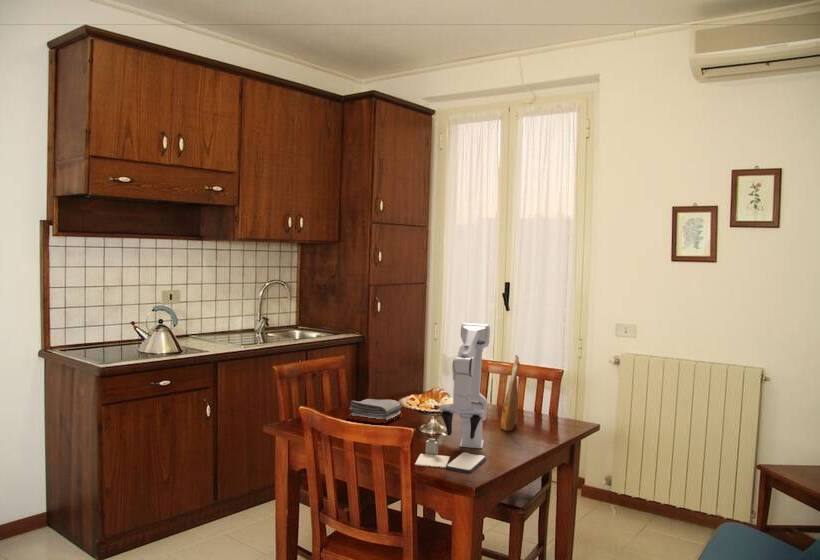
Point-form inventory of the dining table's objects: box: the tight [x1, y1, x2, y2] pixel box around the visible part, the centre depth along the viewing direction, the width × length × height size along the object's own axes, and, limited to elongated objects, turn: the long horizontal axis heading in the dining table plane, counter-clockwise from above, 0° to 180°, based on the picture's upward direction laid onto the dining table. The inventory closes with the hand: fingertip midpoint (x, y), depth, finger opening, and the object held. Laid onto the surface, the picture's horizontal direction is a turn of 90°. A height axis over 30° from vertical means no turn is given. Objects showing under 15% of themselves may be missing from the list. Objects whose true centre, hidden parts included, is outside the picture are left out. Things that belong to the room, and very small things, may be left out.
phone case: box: [445, 452, 487, 474], centre depth 208 cm, size 9×2×16 cm
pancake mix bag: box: [500, 354, 521, 432], centre depth 256 cm, size 7×19×28 cm, turn 165°
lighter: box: [424, 432, 448, 455], centre depth 216 cm, size 7×2×8 cm, turn 61°
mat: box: [414, 453, 451, 469], centre depth 210 cm, size 11×10×1 cm
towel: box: [348, 398, 403, 420], centre depth 262 cm, size 15×18×8 cm
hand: (460, 436), depth 205 cm, fingers open, 7 cm apart
